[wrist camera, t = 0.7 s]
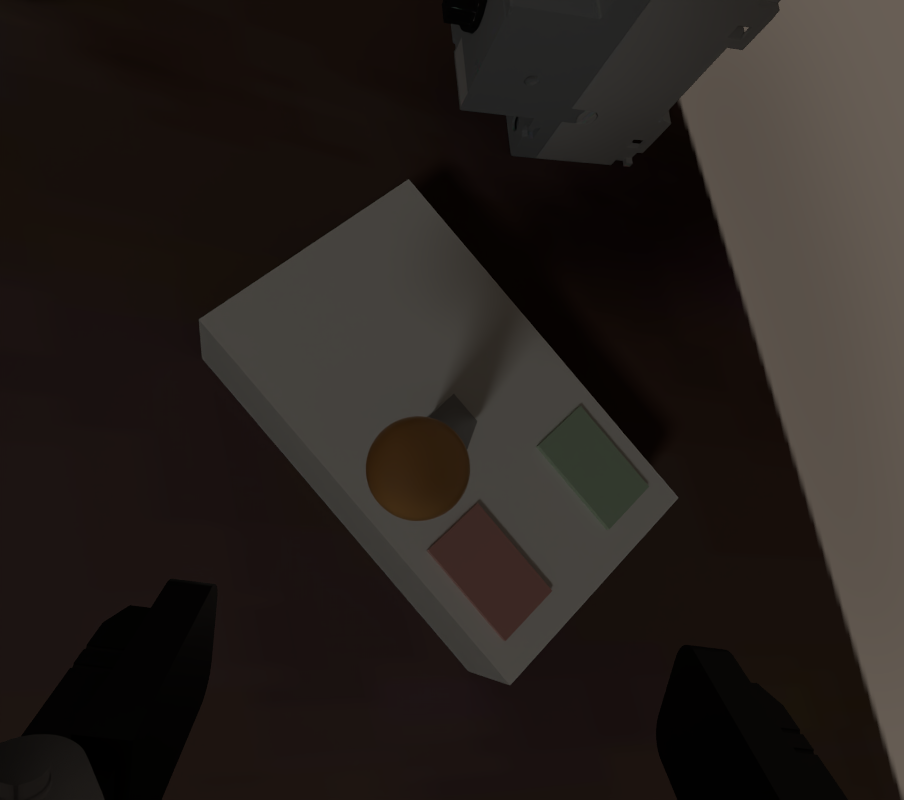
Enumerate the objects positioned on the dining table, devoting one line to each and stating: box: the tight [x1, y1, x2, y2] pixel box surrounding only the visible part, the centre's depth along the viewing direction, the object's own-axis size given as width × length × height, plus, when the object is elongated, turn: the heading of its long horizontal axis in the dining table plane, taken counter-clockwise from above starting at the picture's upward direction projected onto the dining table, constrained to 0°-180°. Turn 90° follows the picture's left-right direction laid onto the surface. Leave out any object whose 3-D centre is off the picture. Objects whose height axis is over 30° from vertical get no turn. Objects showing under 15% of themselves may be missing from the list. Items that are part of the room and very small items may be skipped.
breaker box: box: [199, 179, 678, 685], centre depth 35 cm, size 20×12×6 cm, turn 42°
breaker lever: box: [366, 394, 477, 521], centre depth 24 cm, size 3×3×15 cm
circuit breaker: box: [442, 0, 780, 167], centre depth 38 cm, size 8×14×15 cm, turn 95°
